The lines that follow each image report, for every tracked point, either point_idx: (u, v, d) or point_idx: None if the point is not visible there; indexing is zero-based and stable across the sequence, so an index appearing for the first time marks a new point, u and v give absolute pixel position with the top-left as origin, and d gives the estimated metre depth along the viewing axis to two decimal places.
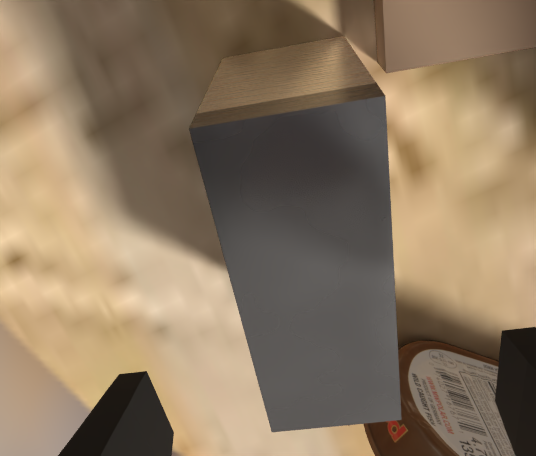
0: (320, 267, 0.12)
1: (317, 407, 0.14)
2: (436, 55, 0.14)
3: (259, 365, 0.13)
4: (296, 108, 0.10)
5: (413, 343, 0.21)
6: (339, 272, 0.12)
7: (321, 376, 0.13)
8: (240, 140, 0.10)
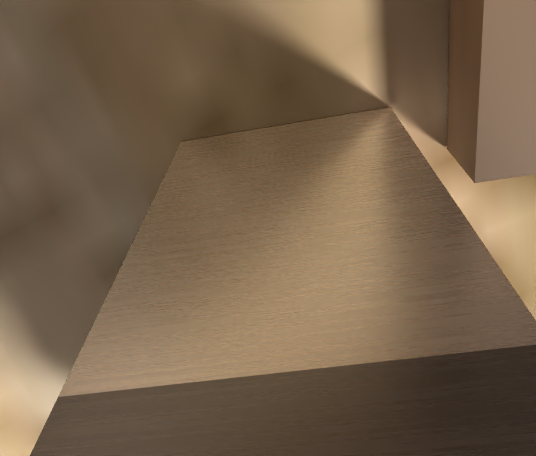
0: None
1: None
2: None
3: None
4: None
5: None
6: None
7: None
8: None
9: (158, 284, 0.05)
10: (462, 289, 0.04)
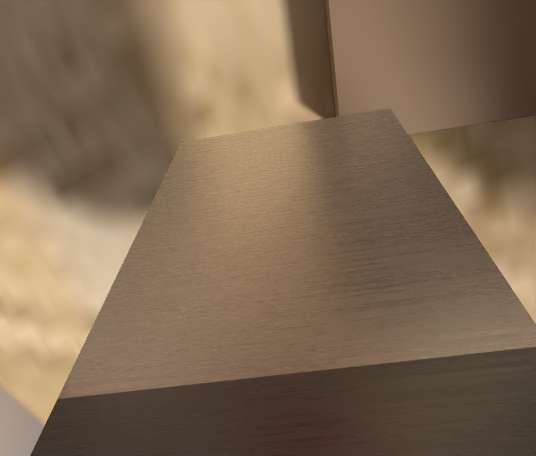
0: None
1: None
2: None
3: None
4: None
5: None
6: None
7: None
8: None
9: (158, 286, 0.05)
10: (461, 291, 0.04)
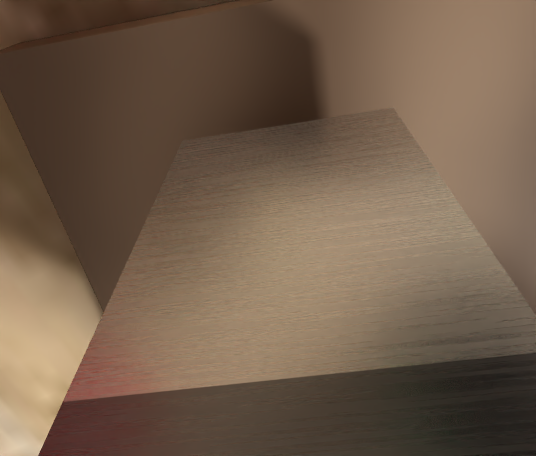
0: None
1: None
2: None
3: None
4: None
5: None
6: None
7: None
8: None
9: (162, 286, 0.05)
10: (469, 294, 0.04)
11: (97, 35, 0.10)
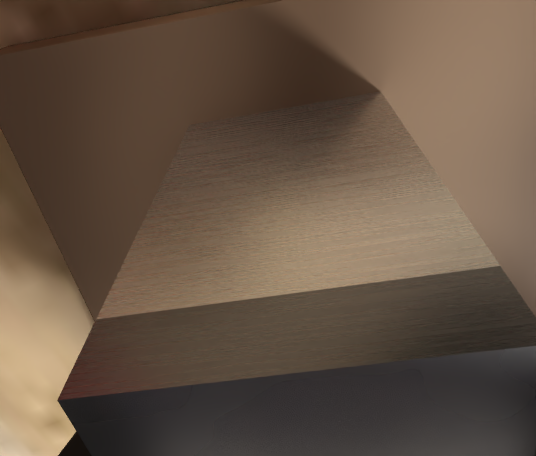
0: None
1: None
2: None
3: None
4: (319, 356, 0.04)
5: None
6: None
7: None
8: (184, 418, 0.04)
9: (175, 237, 0.06)
10: (432, 231, 0.05)
11: (86, 39, 0.09)
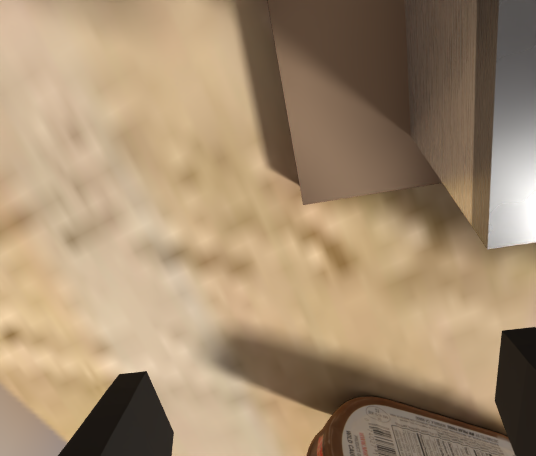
0: None
1: None
2: (341, 192, 0.17)
3: (502, 116, 0.09)
4: None
5: (352, 400, 0.24)
6: None
7: None
8: None
9: None
10: None
11: None
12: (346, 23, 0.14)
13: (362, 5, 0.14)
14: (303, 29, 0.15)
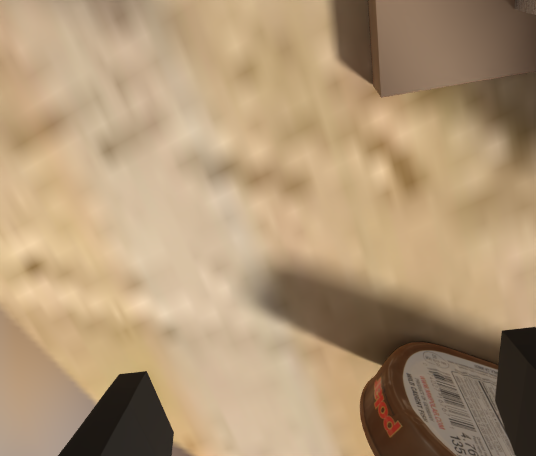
0: None
1: None
2: (427, 81, 0.15)
3: None
4: None
5: (408, 344, 0.22)
6: None
7: None
8: None
9: None
10: None
11: None
12: None
13: None
14: None
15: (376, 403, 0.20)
